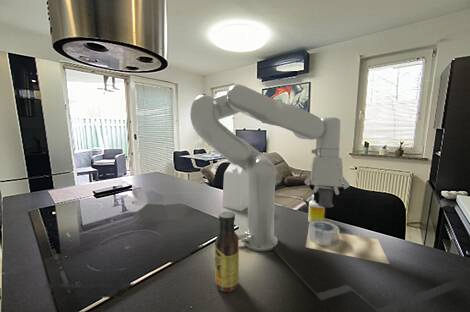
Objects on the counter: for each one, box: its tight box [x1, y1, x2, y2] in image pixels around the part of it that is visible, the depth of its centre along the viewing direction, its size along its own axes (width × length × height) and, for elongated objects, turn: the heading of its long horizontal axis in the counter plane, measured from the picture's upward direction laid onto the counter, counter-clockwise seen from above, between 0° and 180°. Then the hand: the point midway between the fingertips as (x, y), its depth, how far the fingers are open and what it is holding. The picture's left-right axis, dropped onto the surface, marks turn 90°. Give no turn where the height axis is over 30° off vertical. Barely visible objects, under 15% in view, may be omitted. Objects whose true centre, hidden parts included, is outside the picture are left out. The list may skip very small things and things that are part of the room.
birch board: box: [305, 229, 390, 265], centre depth 75 cm, size 24×16×1 cm, turn 67°
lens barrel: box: [307, 220, 340, 247], centre depth 77 cm, size 10×10×5 cm
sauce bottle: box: [214, 211, 240, 293], centre depth 55 cm, size 6×6×20 cm
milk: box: [222, 162, 248, 212], centre depth 116 cm, size 12×12×26 cm
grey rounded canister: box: [317, 186, 335, 208], centre depth 76 cm, size 5×5×6 cm
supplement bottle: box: [307, 194, 326, 223], centre depth 92 cm, size 7×7×13 cm
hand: (325, 202), depth 76 cm, fingers closed on grey rounded canister, 5 cm apart
